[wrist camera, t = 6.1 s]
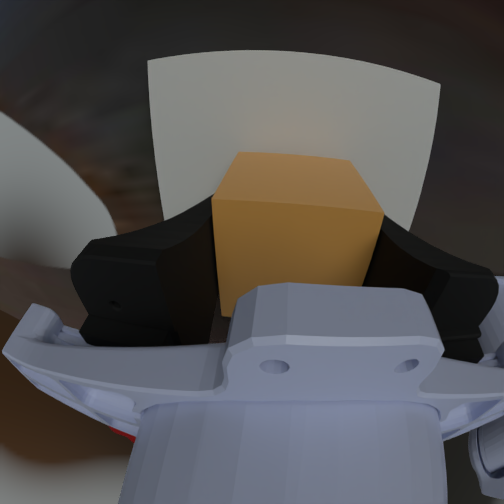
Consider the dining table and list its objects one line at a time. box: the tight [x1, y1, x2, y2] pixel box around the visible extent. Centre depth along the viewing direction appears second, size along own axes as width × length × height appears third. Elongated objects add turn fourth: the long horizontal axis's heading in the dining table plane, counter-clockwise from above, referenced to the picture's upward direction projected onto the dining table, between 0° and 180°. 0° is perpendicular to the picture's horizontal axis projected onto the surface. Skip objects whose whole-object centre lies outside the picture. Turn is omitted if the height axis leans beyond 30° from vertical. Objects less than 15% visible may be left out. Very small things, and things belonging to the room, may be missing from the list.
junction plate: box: [148, 50, 440, 231], centre depth 12 cm, size 14×14×4 cm
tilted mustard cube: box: [211, 152, 385, 317], centre depth 11 cm, size 5×5×5 cm
